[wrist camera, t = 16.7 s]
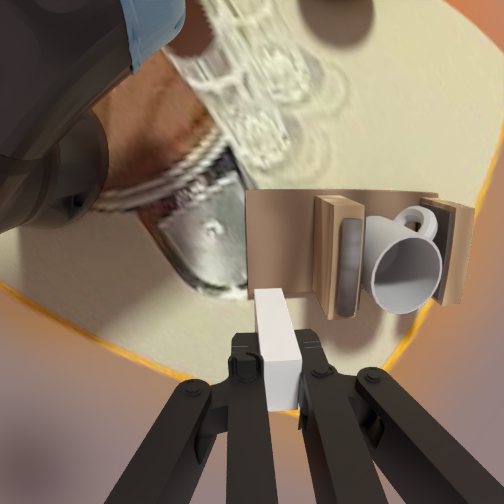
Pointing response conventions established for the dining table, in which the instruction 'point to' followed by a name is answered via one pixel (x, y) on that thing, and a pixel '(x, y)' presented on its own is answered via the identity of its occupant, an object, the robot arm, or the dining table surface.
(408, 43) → the dining table surface
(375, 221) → the cup
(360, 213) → the block
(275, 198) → the base
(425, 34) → the dining table surface
